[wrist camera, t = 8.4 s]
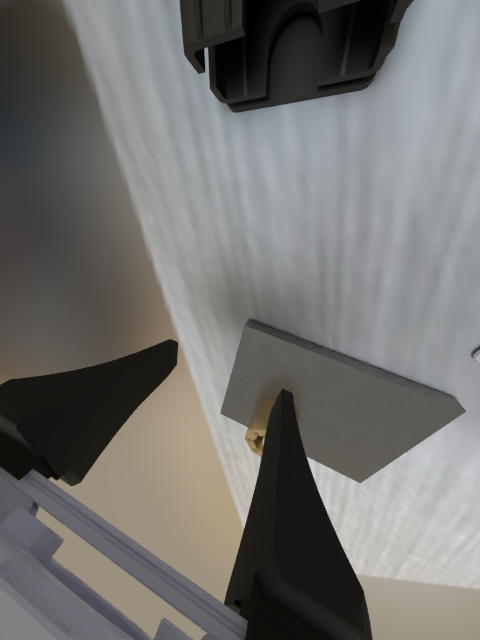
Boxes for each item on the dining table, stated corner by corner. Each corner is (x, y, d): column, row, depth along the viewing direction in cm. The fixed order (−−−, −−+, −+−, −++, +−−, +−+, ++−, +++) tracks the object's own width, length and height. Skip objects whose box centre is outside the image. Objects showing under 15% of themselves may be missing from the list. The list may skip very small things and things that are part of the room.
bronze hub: (305, 415, 22) (303, 450, 18) (285, 435, 25) (280, 468, 21) (265, 393, 22) (257, 422, 19) (250, 414, 25) (240, 444, 22)
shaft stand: (454, 397, 17) (508, 463, 12) (358, 470, 25) (368, 525, 20) (249, 319, 20) (230, 346, 16) (224, 405, 29) (207, 439, 24)
